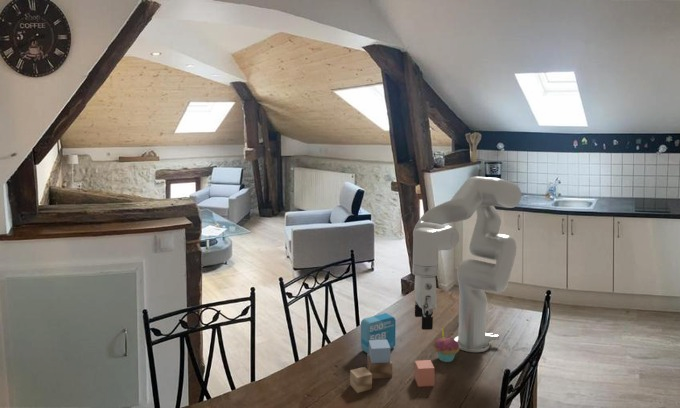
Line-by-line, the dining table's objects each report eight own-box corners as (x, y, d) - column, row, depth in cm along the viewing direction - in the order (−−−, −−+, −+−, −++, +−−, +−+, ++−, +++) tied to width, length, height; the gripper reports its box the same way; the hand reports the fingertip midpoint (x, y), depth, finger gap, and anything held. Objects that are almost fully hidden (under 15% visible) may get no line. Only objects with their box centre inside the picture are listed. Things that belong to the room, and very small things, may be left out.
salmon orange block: (430, 377, 158) (430, 359, 157) (434, 385, 153) (434, 367, 152) (414, 378, 158) (414, 360, 157) (418, 386, 153) (418, 368, 152)
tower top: (386, 353, 164) (386, 339, 163) (390, 362, 158) (390, 347, 157) (368, 354, 163) (368, 340, 163) (371, 363, 158) (371, 348, 157)
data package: (367, 356, 172) (367, 323, 170) (360, 351, 176) (360, 319, 174) (395, 347, 178) (395, 316, 176) (388, 342, 182) (388, 312, 180)
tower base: (388, 366, 165) (388, 352, 164) (392, 377, 158) (392, 363, 157) (367, 367, 165) (367, 353, 164) (370, 379, 158) (370, 364, 157)
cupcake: (444, 367, 164) (445, 333, 162) (428, 356, 172) (428, 323, 170) (464, 360, 168) (465, 327, 166) (447, 350, 176) (448, 318, 174)
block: (364, 381, 156) (364, 366, 155) (372, 389, 152) (371, 374, 151) (350, 385, 154) (350, 370, 153) (357, 393, 150) (357, 377, 149)
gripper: (444, 277, 142) (442, 334, 144) (430, 260, 159) (428, 311, 161) (418, 278, 141) (417, 334, 144) (407, 261, 158) (405, 312, 161)
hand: (423, 322), depth 153 cm, fingers open, 9 cm apart
